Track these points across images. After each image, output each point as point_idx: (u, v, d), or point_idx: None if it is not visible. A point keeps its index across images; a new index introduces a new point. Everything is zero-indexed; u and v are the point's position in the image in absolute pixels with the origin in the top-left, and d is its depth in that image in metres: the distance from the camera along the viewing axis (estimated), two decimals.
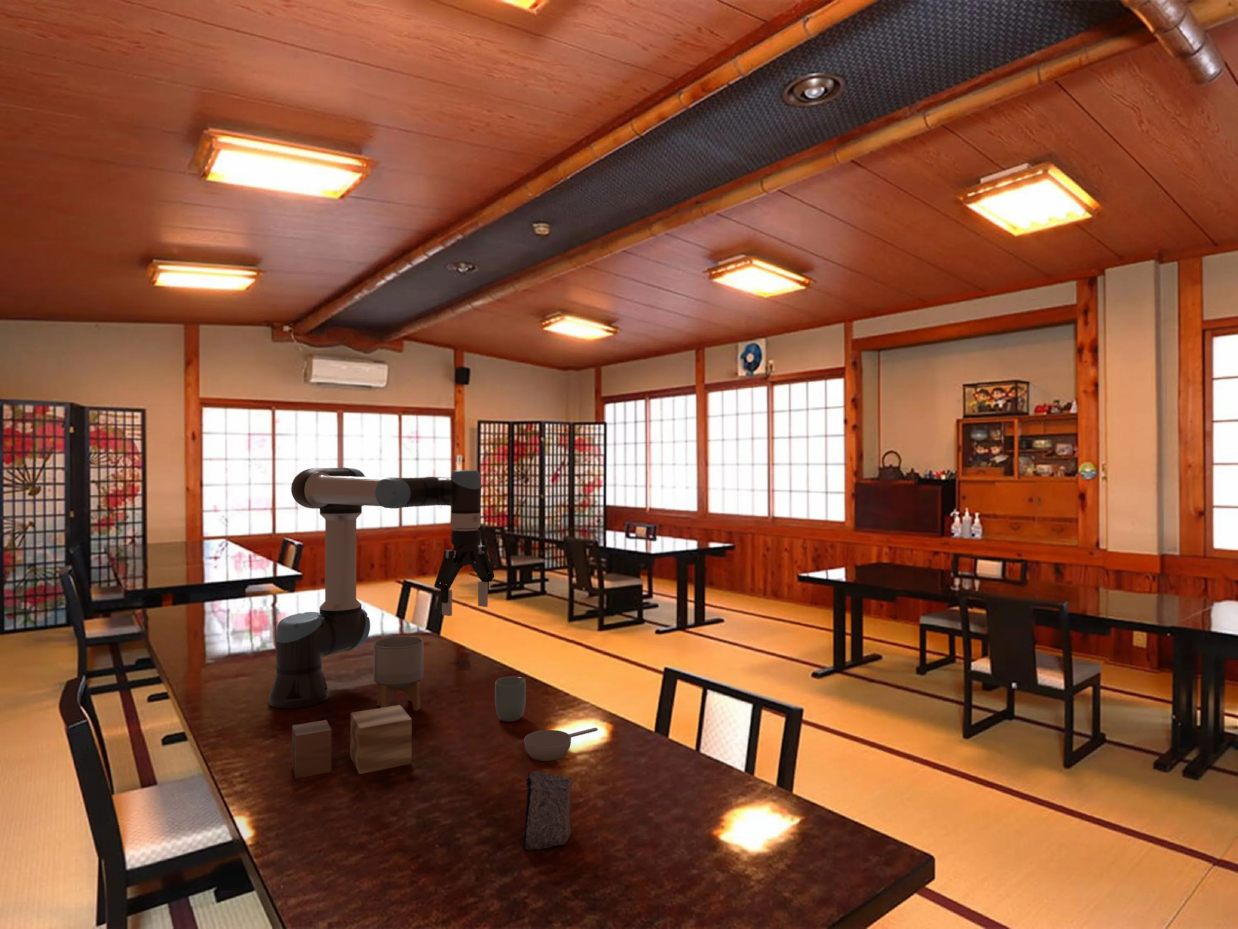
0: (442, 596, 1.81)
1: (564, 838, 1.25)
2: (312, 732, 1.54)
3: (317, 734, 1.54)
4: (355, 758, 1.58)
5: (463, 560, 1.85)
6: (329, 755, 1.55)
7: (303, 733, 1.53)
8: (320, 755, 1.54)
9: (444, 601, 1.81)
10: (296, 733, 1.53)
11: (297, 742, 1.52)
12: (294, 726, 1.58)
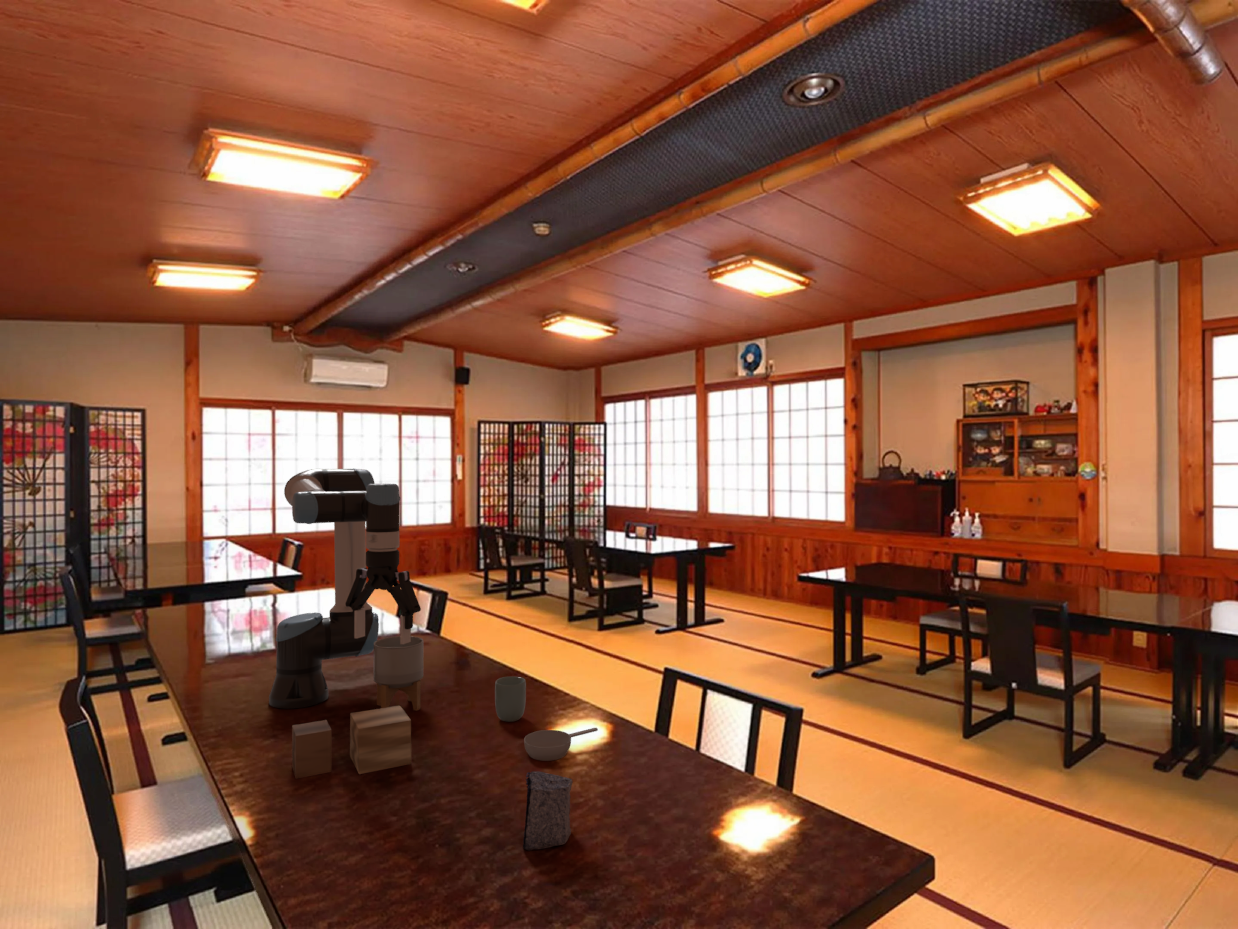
0: None
1: (564, 838, 1.25)
2: (312, 732, 1.54)
3: (317, 734, 1.54)
4: (355, 759, 1.58)
5: (368, 582, 1.69)
6: (329, 755, 1.55)
7: (303, 733, 1.53)
8: (320, 755, 1.54)
9: None
10: (296, 733, 1.53)
11: (297, 742, 1.52)
12: (294, 726, 1.58)
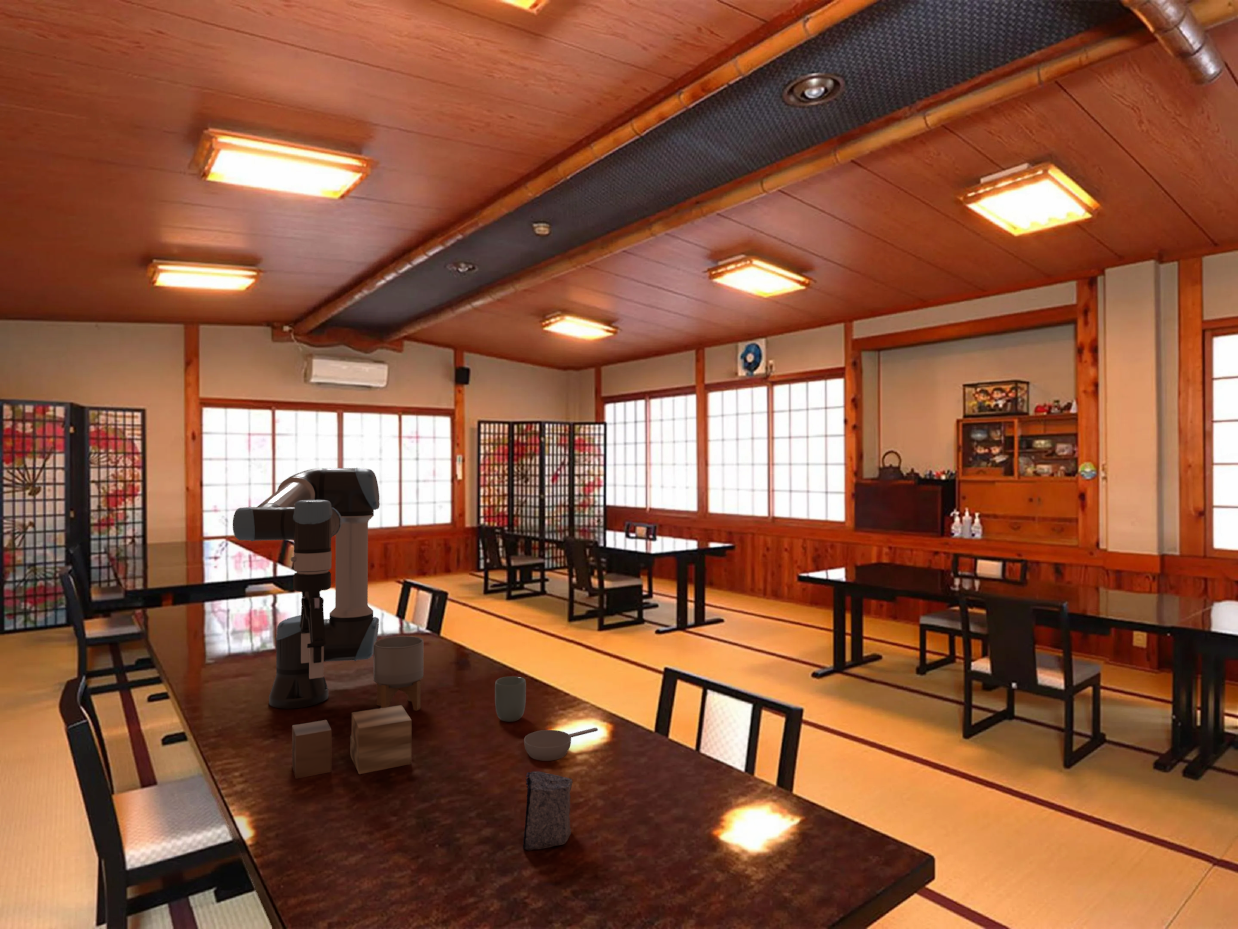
0: None
1: (564, 838, 1.25)
2: (312, 732, 1.54)
3: (317, 734, 1.54)
4: (355, 758, 1.58)
5: (302, 605, 1.58)
6: (329, 755, 1.55)
7: (303, 733, 1.53)
8: (320, 755, 1.54)
9: None
10: (296, 733, 1.53)
11: (297, 742, 1.52)
12: (295, 726, 1.58)
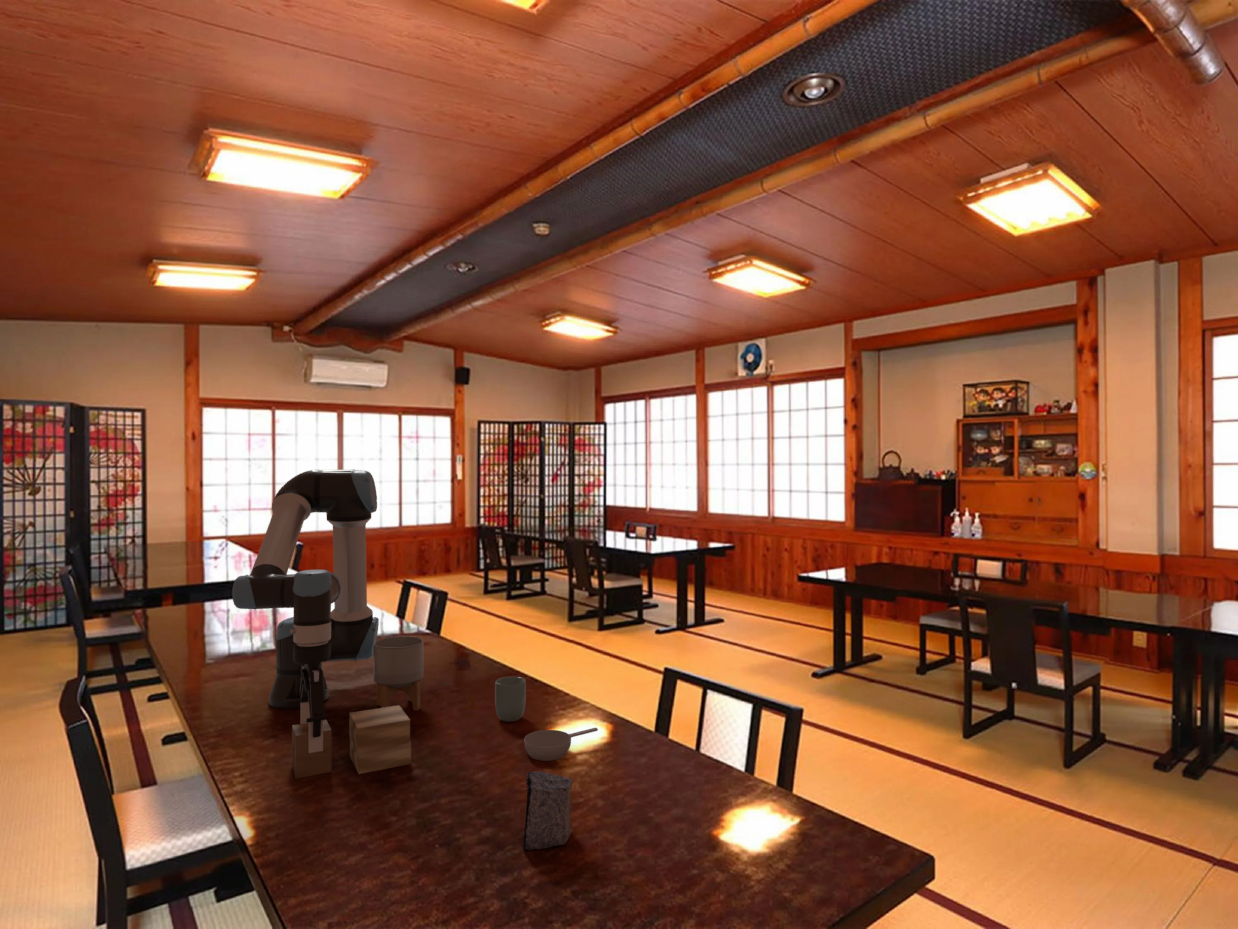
0: None
1: (564, 838, 1.25)
2: None
3: None
4: (355, 758, 1.58)
5: None
6: (329, 755, 1.55)
7: (303, 733, 1.53)
8: (320, 755, 1.54)
9: None
10: (296, 733, 1.53)
11: (297, 742, 1.52)
12: (294, 726, 1.58)
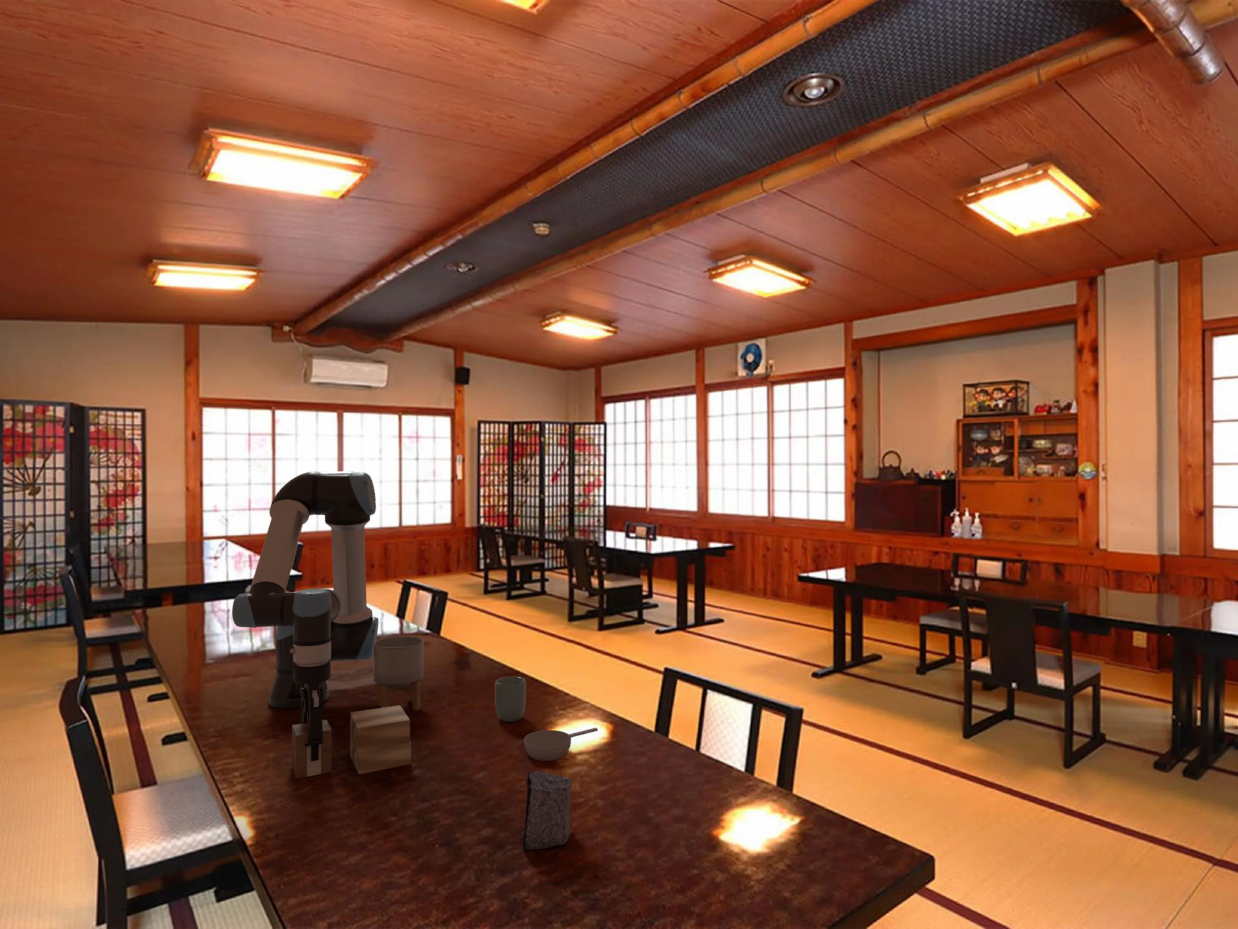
0: None
1: (564, 838, 1.25)
2: None
3: None
4: (355, 758, 1.58)
5: (302, 697, 1.58)
6: (329, 755, 1.55)
7: (303, 733, 1.53)
8: None
9: None
10: (296, 733, 1.53)
11: (297, 742, 1.52)
12: (294, 725, 1.58)
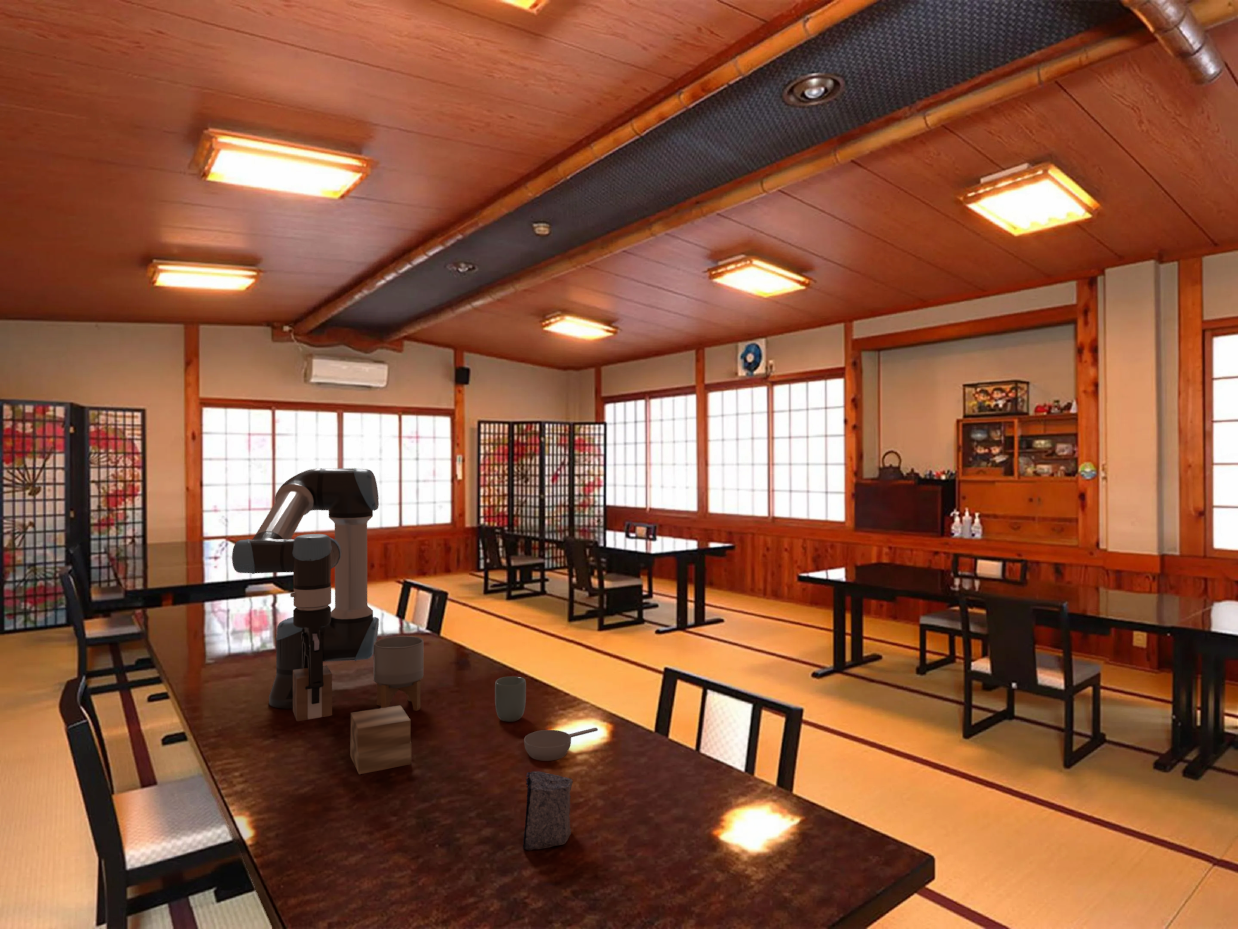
0: None
1: (564, 838, 1.25)
2: None
3: None
4: (355, 758, 1.58)
5: (302, 642, 1.58)
6: (330, 699, 1.56)
7: (304, 677, 1.53)
8: None
9: None
10: (297, 676, 1.53)
11: (298, 685, 1.52)
12: (295, 670, 1.58)
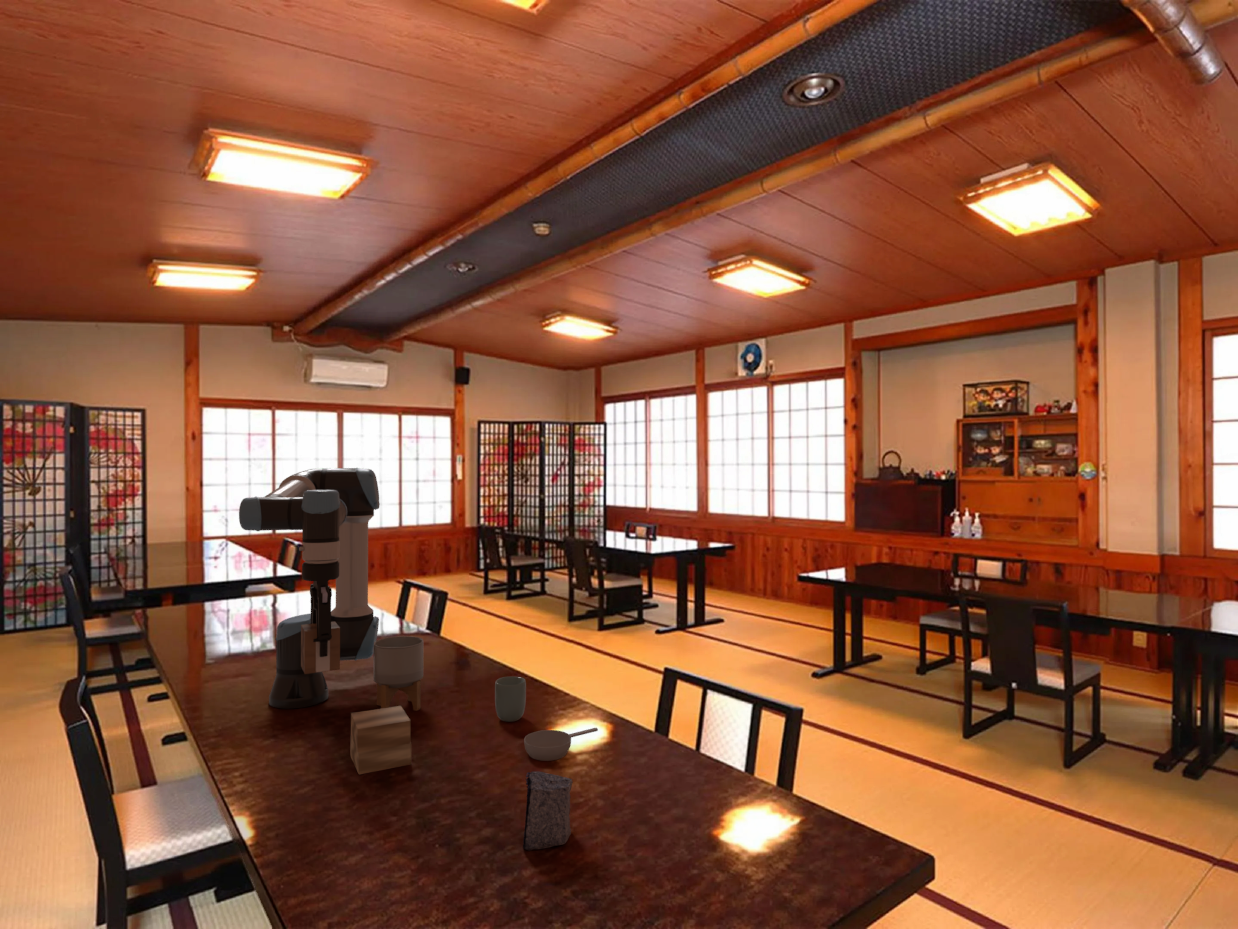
0: None
1: (564, 838, 1.25)
2: None
3: None
4: (355, 759, 1.58)
5: (311, 597, 1.58)
6: (338, 653, 1.56)
7: (312, 630, 1.54)
8: None
9: None
10: (305, 629, 1.54)
11: (306, 637, 1.53)
12: (303, 625, 1.58)
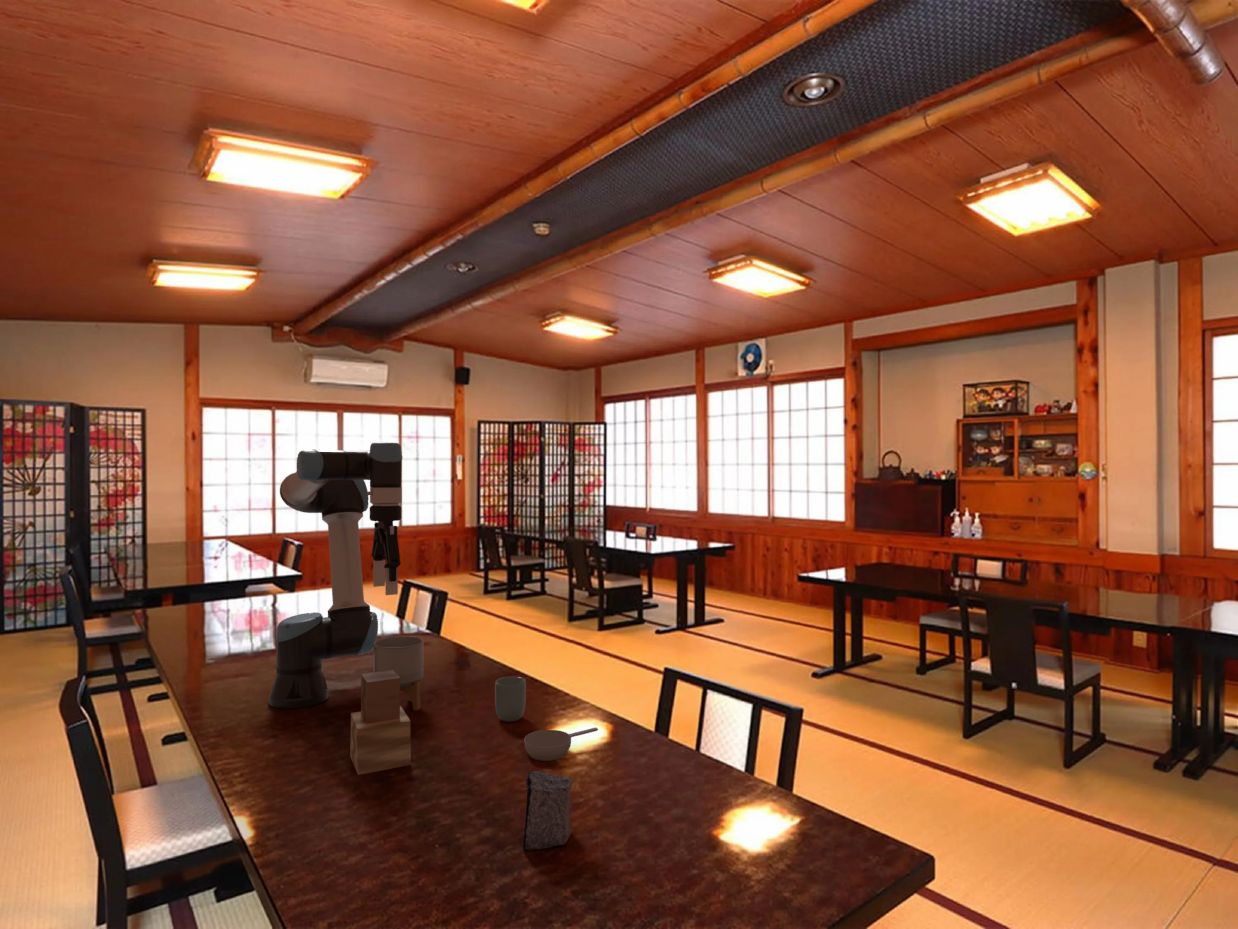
0: None
1: (564, 838, 1.25)
2: (382, 679, 1.59)
3: (387, 681, 1.59)
4: (354, 759, 1.58)
5: (376, 535, 1.81)
6: (398, 702, 1.60)
7: (374, 680, 1.58)
8: (389, 701, 1.59)
9: None
10: (367, 680, 1.58)
11: (368, 688, 1.57)
12: (363, 674, 1.63)
